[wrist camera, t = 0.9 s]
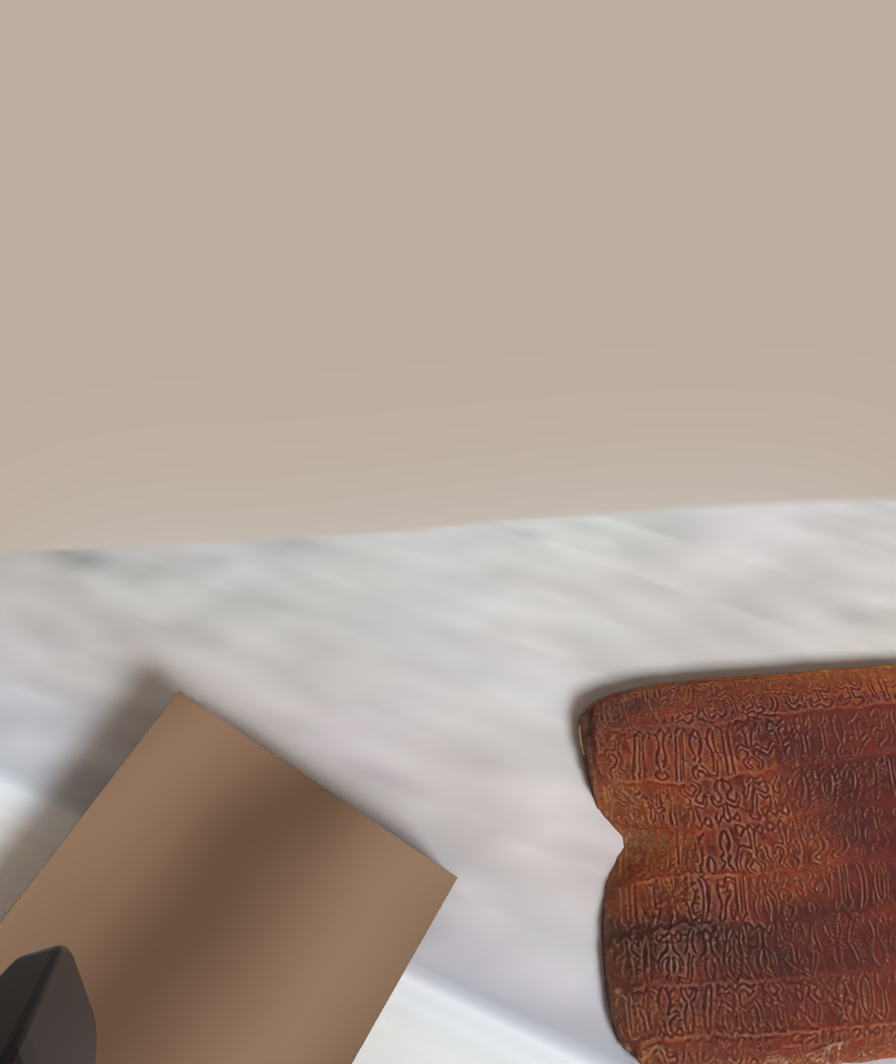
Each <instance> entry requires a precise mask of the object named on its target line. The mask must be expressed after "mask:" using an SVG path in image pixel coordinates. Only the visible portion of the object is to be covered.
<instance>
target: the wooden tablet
mask: <svg viewBox="0 0 896 1064" xmlns="http://www.w3.org/2000/svg"><path fill="white" fill-rule="evenodd" d="M578 735H579V742H580V747H581V751H582V754H583V758H584V762H585V766H586V770H587V775H588V780H589V783H590V786H591V790H592V795H593V797H594V799H595V802H596V805H597V808H598V809H599V810H600V811H601V813H602V814H603V816H604V817H605V818H606V819H607V820H608V821H609V822H610V823H611V824H612V826H613V827H614V828H615V829H616V830H617V831H618V832H619V833H620V834H621V835H622V837H623V842H624V848H623V850H622V851H621V853H620V854H619V855H618V857H617V859H616V863H615V865H614V867H613V869H612V871H611V872H610V874H609V878H608V881H607V884H606V886H605V888H606V891H605V898H604V900H603V910H602V942H603V959H604V975H605V978H606V984H605V987H606V991H607V998H608V1003H609V1007H610V1011H611V1015H612V1021H613V1027H614V1031H615V1033H616V1035H617V1037H618V1039H619V1040H620V1041H621V1043H622V1046H623V1048H624V1049H625V1050H627V1051H629V1052H630V1053H631V1054H632V1055H633V1056H634V1057H635V1058H636V1059H637V1061H638V1062H639V1063H640V1064H841V1063H845V1062H846V1063H861V1062H867V1061H872V1060H878V1059H883V1058H894V1057H896V665H883V666H870V667H861V668H847V669H826V670H816V671H808V672H798V673H780V674H772V675H753V676H741V677H731V678H720V679H699V680H693V681H687V682H673V683H662V684H656V685H652V686H647V687H640V688H635V689H630V690H626V691H621V692H618V693H614V694H612V695H609V696H607V697H604V698H601V699H599V700H597V701H595V702H594V703H592V704H591V705H590V706H589V707H588V708H587V710H586V712H585V713H584V714H583V715H582V716H581V717H580V719H579V724H578Z"/></svg>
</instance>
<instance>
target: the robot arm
mask: <svg viewBox="0 0 896 1064" xmlns="http://www.w3.org/2000/svg"><path fill="white" fill-rule="evenodd" d="M96 1049H97V1029H96V1021H95V1017H94V1013H93V1010H92V1007H91V1004H90V1001H89V998H88V996H87V993H86V990H85V987H84V984H83V982H82V979H81V976H80V973H79V970H78V968H77V965H76V962H75V959H74V957H73V955H72V953H71V951H70V950H69V949H68V947H66V946H64V945H55V946H52V947H49V948H45V949H42V950H38V951H35V952H31V953H28V954H25V955H22V956H20V957H18V958H16V959H15V960H14V961H13V962H12V963H11V964H10V965H9V966H8V967H7V968H6V969H5V970H4V972H3V973H2V974H1V975H0V1064H96Z"/></svg>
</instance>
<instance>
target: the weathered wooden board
mask: <svg viewBox="0 0 896 1064" xmlns="http://www.w3.org/2000/svg"><path fill="white" fill-rule="evenodd" d="M456 879H457V877H456V876H455V875H453V874H452V873H450V872H449V871H447V870H446V869H444V868H443V867H441V866H440V865H438V864H437V863H435V862H434V861H432V860H431V859H429V858H428V857H426V856H425V855H423V854H422V853H420V852H419V851H417V850H416V849H414V848H413V847H411V846H410V845H408V844H407V843H405V842H404V841H402V840H401V839H400V838H398V837H397V836H395V835H394V834H392V833H391V832H389V831H388V830H386V829H385V828H383V827H382V826H380V825H379V824H377V823H376V822H374V821H373V820H371V819H370V818H368V817H367V816H365V815H364V814H362V813H361V812H359V811H358V810H356V809H355V808H353V807H352V806H350V805H349V804H347V803H346V802H344V801H343V800H341V799H340V798H338V797H337V796H335V795H334V794H332V793H331V792H329V791H328V790H326V789H325V788H323V787H322V786H320V785H319V784H318V783H316V782H315V781H313V780H312V779H310V778H309V777H307V776H306V775H304V774H303V773H301V772H300V771H298V770H297V769H295V768H294V767H292V766H291V765H289V764H288V763H286V762H285V761H283V760H282V759H280V758H279V757H277V756H276V755H274V754H273V753H271V752H270V751H268V750H267V749H265V748H264V747H262V746H261V745H259V744H258V743H256V742H255V741H253V740H252V739H250V738H249V737H247V736H246V735H244V734H243V733H241V732H240V731H238V730H237V729H236V728H234V727H233V726H231V725H230V724H228V723H227V722H225V721H224V720H222V719H221V718H219V717H218V716H216V715H215V714H213V713H212V712H210V711H209V710H207V709H206V708H204V707H203V706H201V705H200V704H198V703H197V702H195V701H194V700H192V699H191V698H189V697H188V696H186V695H185V694H183V693H182V692H180V691H178V692H177V694H176V695H175V696H174V698H173V699H172V700H171V702H170V703H169V704H168V705H167V707H166V708H165V709H164V711H163V712H162V713H161V715H160V716H159V717H158V718H157V720H156V721H155V722H154V724H153V725H152V726H151V728H150V729H149V730H148V731H147V733H146V734H145V735H144V737H143V738H142V739H141V741H140V742H139V743H138V744H137V746H136V747H135V748H134V750H133V751H132V752H131V754H130V755H129V756H128V757H127V759H126V760H125V761H124V763H123V764H122V765H121V767H120V768H119V769H118V770H117V772H116V773H115V774H114V776H113V777H112V778H111V780H110V781H109V782H108V784H107V785H106V786H105V787H104V789H103V790H102V791H101V793H100V794H99V795H98V797H97V798H96V799H95V800H94V802H93V803H92V804H91V806H90V807H89V808H88V810H87V811H86V812H85V813H84V815H83V816H82V817H81V819H80V820H79V821H78V823H77V824H76V825H75V826H74V828H73V829H72V830H71V832H70V833H69V834H68V836H67V837H66V838H65V839H64V841H63V842H62V843H61V845H60V846H59V847H58V849H57V850H56V851H55V852H54V854H53V855H52V856H51V858H50V859H49V860H48V862H47V863H46V864H45V865H44V867H43V868H42V869H41V871H40V872H39V873H38V875H37V876H36V877H35V878H34V880H33V881H32V882H31V884H30V885H29V886H28V888H27V889H26V890H25V891H24V893H23V894H22V895H21V897H20V898H19V899H18V901H17V902H16V903H15V905H14V906H13V907H12V908H11V910H10V911H9V912H8V914H7V915H6V916H5V918H4V919H3V920H2V921H1V923H0V975H1V974H2V973H3V972H4V970H5V969H6V968H7V967H8V966H9V965H10V964H11V963H12V962H13V961H14V960H15V959H16V958H18V957H20V956H22V955H25V954H28V953H31V952H35V951H38V950H42V949H45V948H49V947H52V946H55V945H64V946H66V947H68V949H69V950H70V951H71V953H72V955H73V957H74V959H75V962H76V965H77V968H78V970H79V973H80V976H81V979H82V982H83V984H84V987H85V990H86V993H87V996H88V998H89V1001H90V1004H91V1007H92V1010H93V1013H94V1017H95V1021H96V1029H97V1049H96V1064H352V1062H353V1061H354V1059H355V1057H356V1055H357V1054H358V1052H359V1050H360V1048H361V1046H362V1045H363V1043H364V1041H365V1039H366V1038H367V1036H368V1034H369V1032H370V1031H371V1029H372V1027H373V1025H374V1024H375V1022H376V1020H377V1018H378V1017H379V1015H380V1013H381V1011H382V1009H383V1008H384V1006H385V1004H386V1002H387V1001H388V999H389V997H390V995H391V994H392V992H393V990H394V988H395V987H396V985H397V983H398V981H399V980H400V978H401V976H402V974H403V972H404V971H405V969H406V967H407V965H408V964H409V962H410V960H411V958H412V957H413V955H414V953H415V951H416V950H417V948H418V946H419V944H420V943H421V941H422V939H423V937H424V936H425V934H426V932H427V930H428V928H429V927H430V925H431V923H432V921H433V920H434V918H435V916H436V914H437V913H438V911H439V909H440V907H441V906H442V904H443V902H444V900H445V899H446V897H447V895H448V893H449V891H450V890H451V888H452V886H453V884H454V883H455V881H456Z"/></svg>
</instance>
